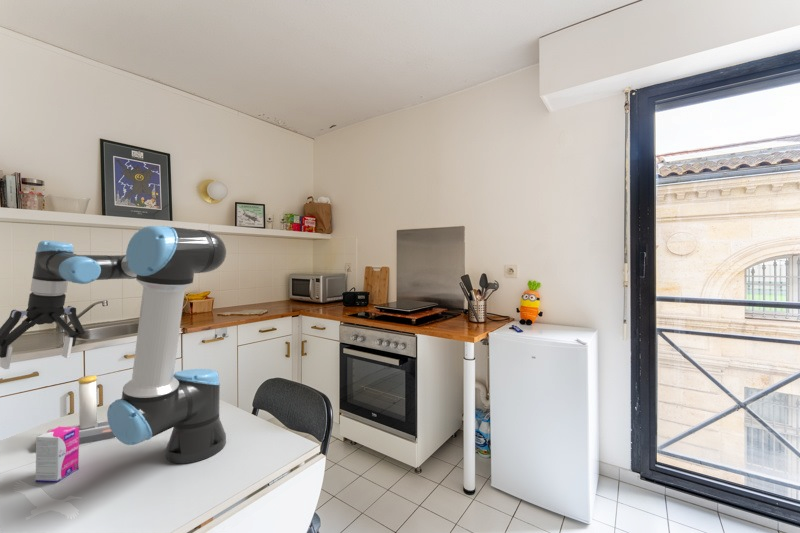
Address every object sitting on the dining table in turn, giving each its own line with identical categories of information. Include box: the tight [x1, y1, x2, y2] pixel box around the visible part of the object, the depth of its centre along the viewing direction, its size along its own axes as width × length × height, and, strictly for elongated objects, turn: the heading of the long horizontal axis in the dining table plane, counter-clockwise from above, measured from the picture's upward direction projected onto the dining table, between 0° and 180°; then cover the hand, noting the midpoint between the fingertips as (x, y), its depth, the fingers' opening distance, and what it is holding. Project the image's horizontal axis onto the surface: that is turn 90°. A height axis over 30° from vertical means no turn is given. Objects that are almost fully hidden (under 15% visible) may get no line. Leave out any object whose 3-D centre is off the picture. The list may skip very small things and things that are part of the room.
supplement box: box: [34, 426, 80, 484], centre depth 87 cm, size 6×6×12 cm
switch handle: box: [78, 374, 98, 430], centre depth 107 cm, size 4×4×16 cm
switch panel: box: [46, 419, 115, 445], centre depth 107 cm, size 20×10×3 cm, turn 118°
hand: (37, 362), depth 101 cm, fingers open, 13 cm apart
